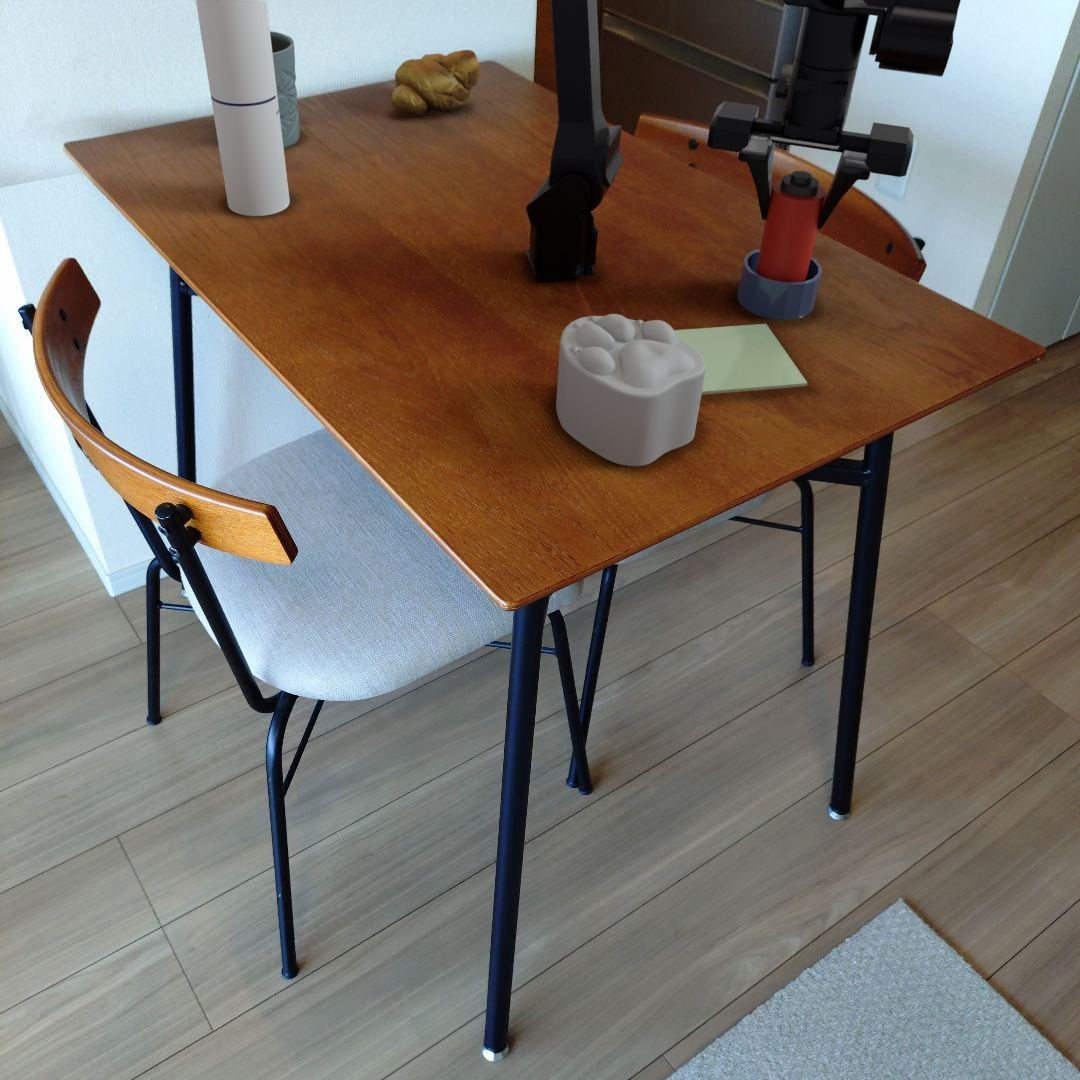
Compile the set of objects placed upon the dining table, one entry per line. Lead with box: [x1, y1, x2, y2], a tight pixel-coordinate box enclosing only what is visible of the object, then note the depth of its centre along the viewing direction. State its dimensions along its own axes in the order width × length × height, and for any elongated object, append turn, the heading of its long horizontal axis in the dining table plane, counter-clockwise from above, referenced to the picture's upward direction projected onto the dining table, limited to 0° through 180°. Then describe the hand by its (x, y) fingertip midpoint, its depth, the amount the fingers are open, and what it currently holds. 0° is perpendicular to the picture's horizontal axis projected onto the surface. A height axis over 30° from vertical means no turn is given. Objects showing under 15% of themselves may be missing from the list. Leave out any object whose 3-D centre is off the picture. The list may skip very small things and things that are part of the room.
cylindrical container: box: [195, 0, 291, 217], centre depth 119 cm, size 7×7×25 cm
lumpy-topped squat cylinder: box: [555, 313, 706, 467], centre depth 94 cm, size 10×13×9 cm
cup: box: [736, 248, 823, 321], centre depth 112 cm, size 8×8×4 cm
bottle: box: [756, 170, 826, 283], centre depth 108 cm, size 5×5×10 cm
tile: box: [673, 323, 808, 396], centre depth 104 cm, size 11×11×1 cm
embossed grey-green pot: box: [270, 30, 301, 149], centre depth 138 cm, size 10×10×12 cm
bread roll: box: [390, 49, 481, 117], centre depth 150 cm, size 13×10×8 cm
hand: (792, 222), depth 108 cm, fingers closed on bottle, 5 cm apart
